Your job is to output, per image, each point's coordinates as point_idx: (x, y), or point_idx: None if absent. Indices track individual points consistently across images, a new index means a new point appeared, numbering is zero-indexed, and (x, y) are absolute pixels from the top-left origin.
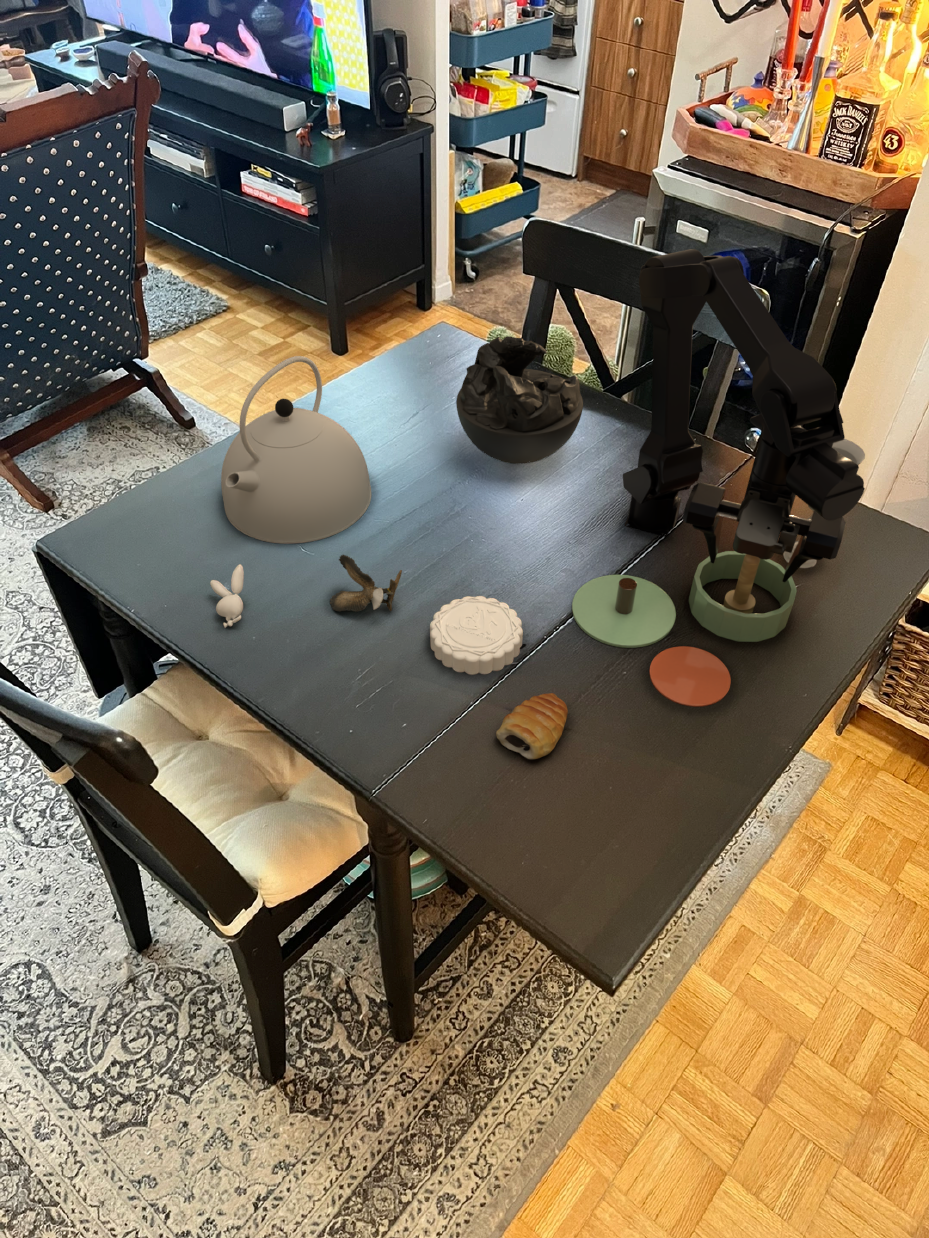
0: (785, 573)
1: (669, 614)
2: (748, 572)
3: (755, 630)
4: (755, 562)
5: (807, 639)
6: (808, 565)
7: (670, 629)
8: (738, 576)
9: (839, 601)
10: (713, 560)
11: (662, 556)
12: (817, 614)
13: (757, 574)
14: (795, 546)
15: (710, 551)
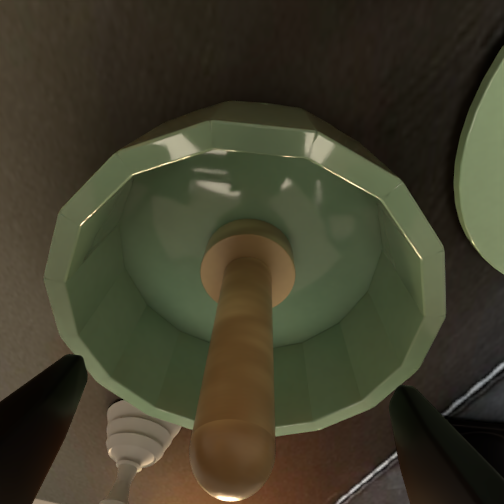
0: (37, 403)
1: (486, 154)
2: (237, 371)
3: (166, 125)
4: (208, 441)
5: (36, 195)
6: (117, 413)
7: (498, 65)
8: None
9: (25, 340)
10: (415, 401)
11: (447, 374)
12: None
13: None
14: (148, 455)
15: (478, 461)
